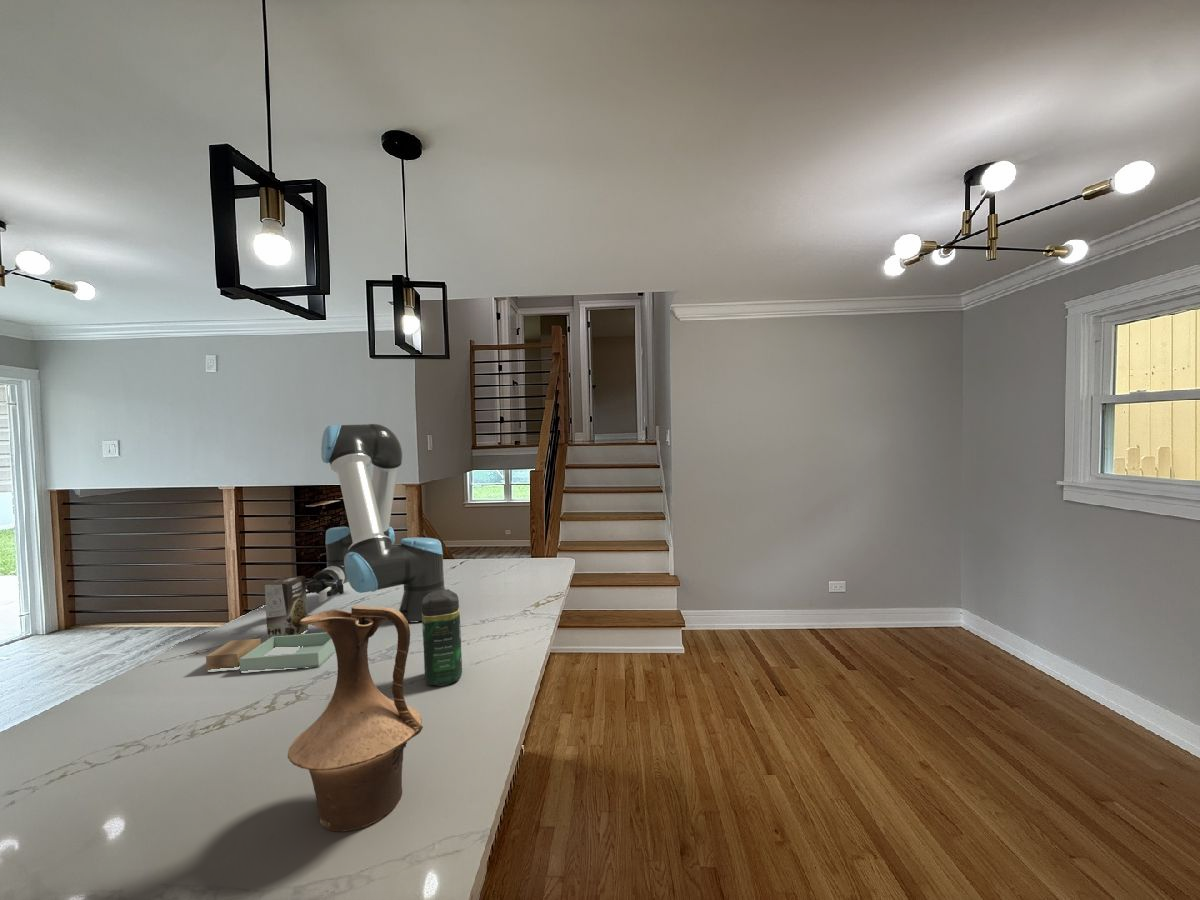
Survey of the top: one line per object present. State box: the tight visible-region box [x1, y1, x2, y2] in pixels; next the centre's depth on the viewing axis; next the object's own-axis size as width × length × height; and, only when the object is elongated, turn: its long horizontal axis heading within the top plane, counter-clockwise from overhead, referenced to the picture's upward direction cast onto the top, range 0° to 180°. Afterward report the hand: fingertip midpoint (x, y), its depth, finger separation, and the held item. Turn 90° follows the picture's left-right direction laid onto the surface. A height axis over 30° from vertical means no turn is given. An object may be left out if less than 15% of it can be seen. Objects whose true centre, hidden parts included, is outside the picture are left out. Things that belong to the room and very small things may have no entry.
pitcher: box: [287, 605, 424, 832], centre depth 76 cm, size 18×17×28 cm
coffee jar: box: [421, 588, 463, 687], centre depth 117 cm, size 10×8×19 cm
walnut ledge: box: [205, 638, 262, 671], centre depth 131 cm, size 7×10×4 cm
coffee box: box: [264, 575, 309, 641], centre depth 148 cm, size 9×6×16 cm
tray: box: [239, 631, 336, 672], centre depth 132 cm, size 18×15×4 cm
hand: (295, 599), depth 154 cm, fingers open, 13 cm apart
